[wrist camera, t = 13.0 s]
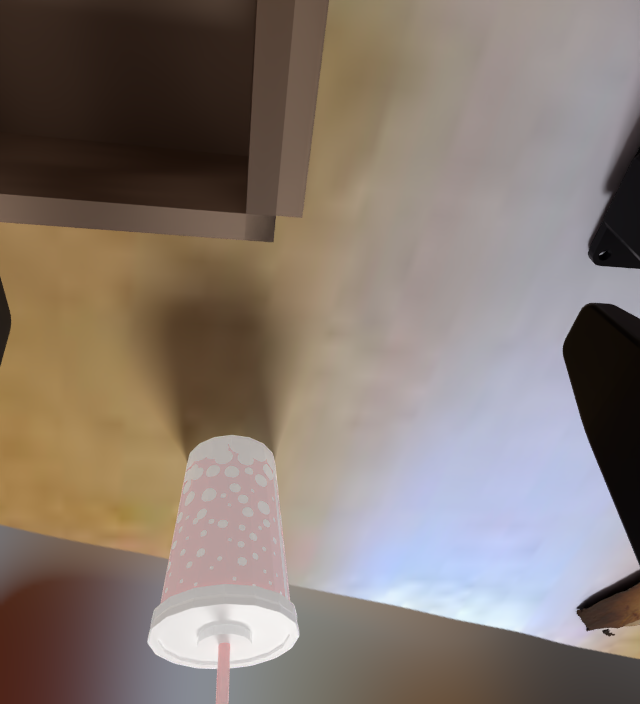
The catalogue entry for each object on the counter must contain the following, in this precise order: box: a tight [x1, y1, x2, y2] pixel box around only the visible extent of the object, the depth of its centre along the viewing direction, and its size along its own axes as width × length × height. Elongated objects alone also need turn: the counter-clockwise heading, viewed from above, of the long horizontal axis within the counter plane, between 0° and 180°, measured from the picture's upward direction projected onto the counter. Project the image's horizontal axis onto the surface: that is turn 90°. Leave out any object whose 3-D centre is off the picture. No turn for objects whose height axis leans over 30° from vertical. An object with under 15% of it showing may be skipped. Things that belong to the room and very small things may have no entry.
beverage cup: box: [147, 435, 299, 704], centre depth 25 cm, size 6×6×14 cm
